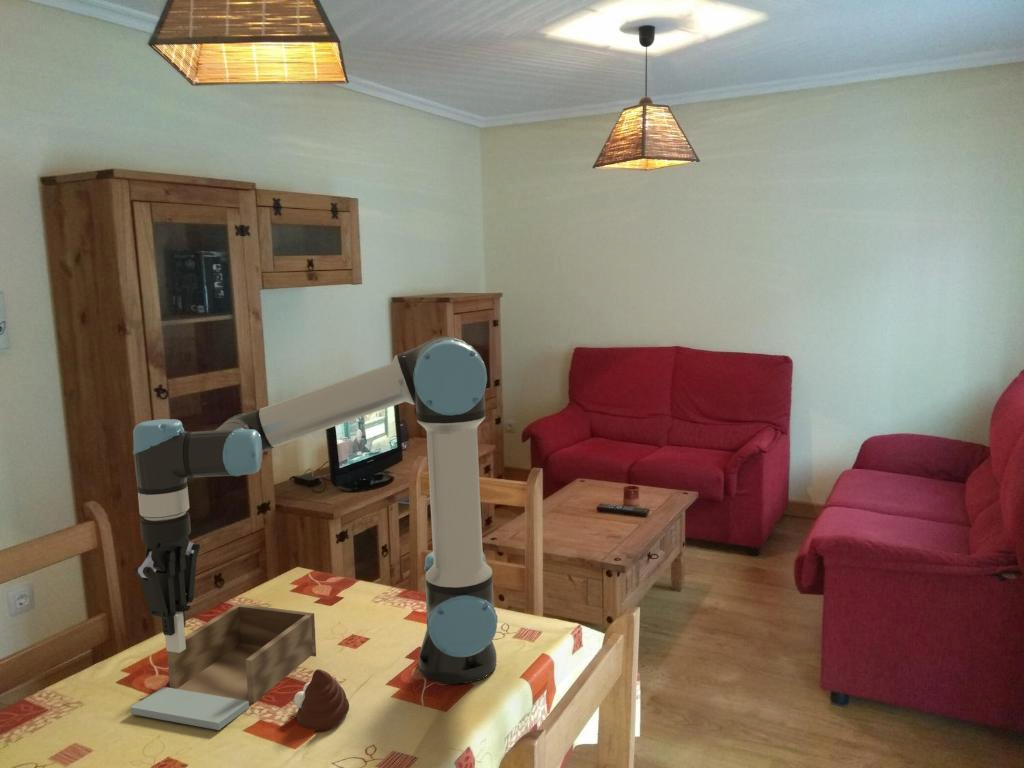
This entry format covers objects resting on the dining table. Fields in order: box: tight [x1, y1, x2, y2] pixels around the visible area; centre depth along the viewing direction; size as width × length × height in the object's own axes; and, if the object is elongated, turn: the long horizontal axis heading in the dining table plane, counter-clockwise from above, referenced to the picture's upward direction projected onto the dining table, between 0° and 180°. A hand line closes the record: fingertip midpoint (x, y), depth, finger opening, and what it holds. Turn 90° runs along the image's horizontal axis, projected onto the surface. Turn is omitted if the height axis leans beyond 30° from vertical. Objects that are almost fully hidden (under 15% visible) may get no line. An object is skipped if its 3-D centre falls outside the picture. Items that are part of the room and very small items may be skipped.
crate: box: [166, 603, 317, 704], centre depth 150 cm, size 20×18×9 cm
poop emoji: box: [293, 668, 350, 733], centre depth 135 cm, size 10×8×9 cm
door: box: [130, 686, 250, 731], centre depth 136 cm, size 1×18×8 cm
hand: (176, 649), depth 132 cm, fingers closed
